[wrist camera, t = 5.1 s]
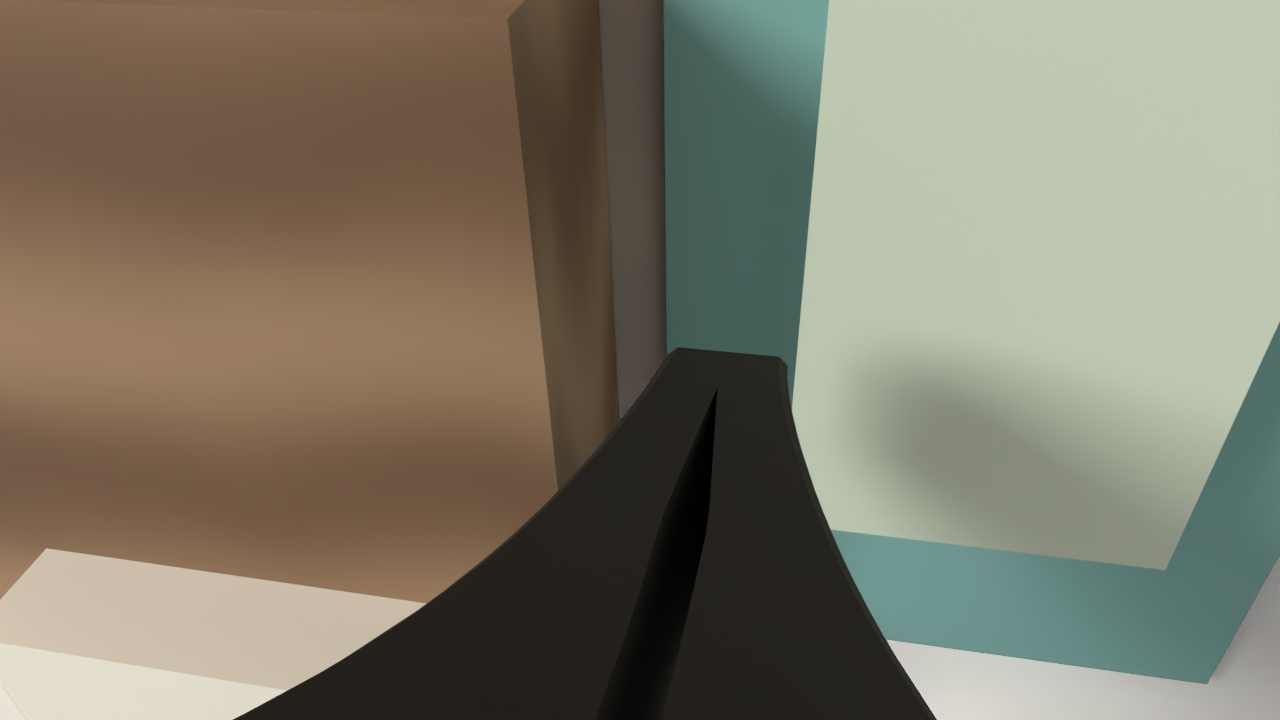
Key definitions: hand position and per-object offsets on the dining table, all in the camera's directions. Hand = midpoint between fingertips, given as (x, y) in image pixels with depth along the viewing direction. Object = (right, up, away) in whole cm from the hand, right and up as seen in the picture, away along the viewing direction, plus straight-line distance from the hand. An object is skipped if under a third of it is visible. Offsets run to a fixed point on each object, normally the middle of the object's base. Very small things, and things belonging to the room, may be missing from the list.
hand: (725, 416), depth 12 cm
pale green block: (+4, +1, +1) cm, 4 cm away
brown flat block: (-7, +1, +7) cm, 10 cm away
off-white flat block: (-8, -6, +7) cm, 12 cm away
